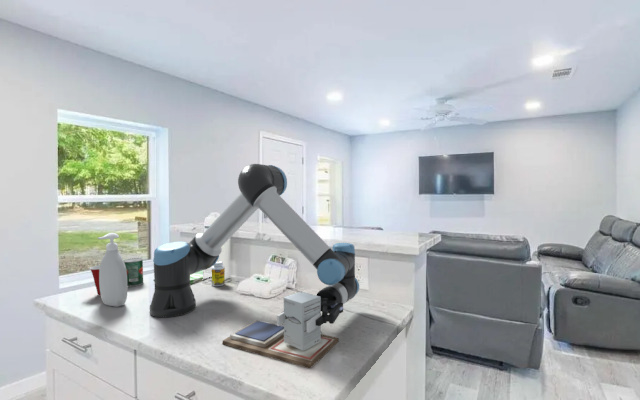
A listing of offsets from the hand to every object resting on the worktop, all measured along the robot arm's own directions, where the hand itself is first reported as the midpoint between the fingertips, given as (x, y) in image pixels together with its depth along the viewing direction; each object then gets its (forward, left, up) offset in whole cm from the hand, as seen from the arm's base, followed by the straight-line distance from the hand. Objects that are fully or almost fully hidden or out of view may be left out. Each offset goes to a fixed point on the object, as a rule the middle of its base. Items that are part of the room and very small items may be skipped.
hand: (292, 323), depth 88 cm
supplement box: (0, +5, -7) cm, 9 cm away
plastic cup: (-97, +9, -9) cm, 98 cm away
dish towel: (-84, +38, -9) cm, 93 cm away
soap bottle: (-81, +2, -9) cm, 81 cm away
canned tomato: (-100, +23, -9) cm, 103 cm away
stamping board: (-7, +5, -8) cm, 12 cm away
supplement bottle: (-64, +39, -9) cm, 75 cm away
